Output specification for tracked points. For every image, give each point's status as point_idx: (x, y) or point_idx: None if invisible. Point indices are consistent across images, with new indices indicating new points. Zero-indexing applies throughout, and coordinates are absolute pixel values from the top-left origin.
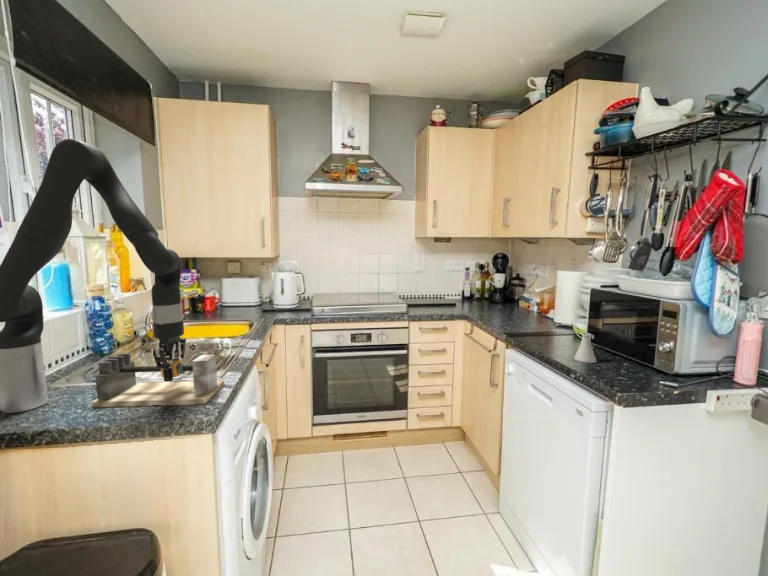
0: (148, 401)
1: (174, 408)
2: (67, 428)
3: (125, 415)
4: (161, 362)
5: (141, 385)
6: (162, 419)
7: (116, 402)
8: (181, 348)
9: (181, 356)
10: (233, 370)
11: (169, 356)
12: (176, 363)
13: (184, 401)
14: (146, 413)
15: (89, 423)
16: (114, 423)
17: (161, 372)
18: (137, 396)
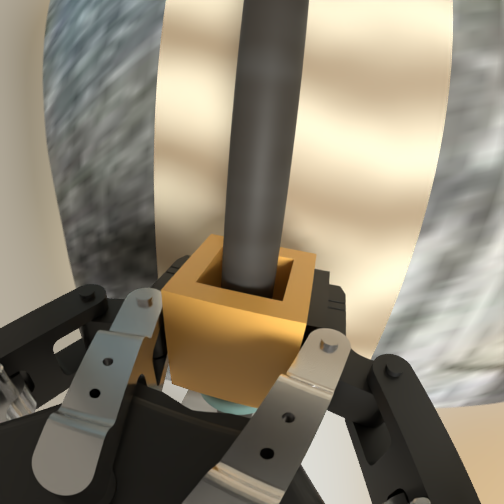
0: (156, 163)
1: (143, 269)
2: (49, 6)
3: (96, 115)
4: (115, 322)
5: (404, 25)
6: (79, 255)
7: (168, 13)
8: (372, 483)
9: (347, 419)
10: (500, 383)
11: (281, 377)
12: (191, 389)
13: None
14: (107, 185)
15: (62, 38)
16: (54, 120)
17: (195, 251)
18: (213, 76)
